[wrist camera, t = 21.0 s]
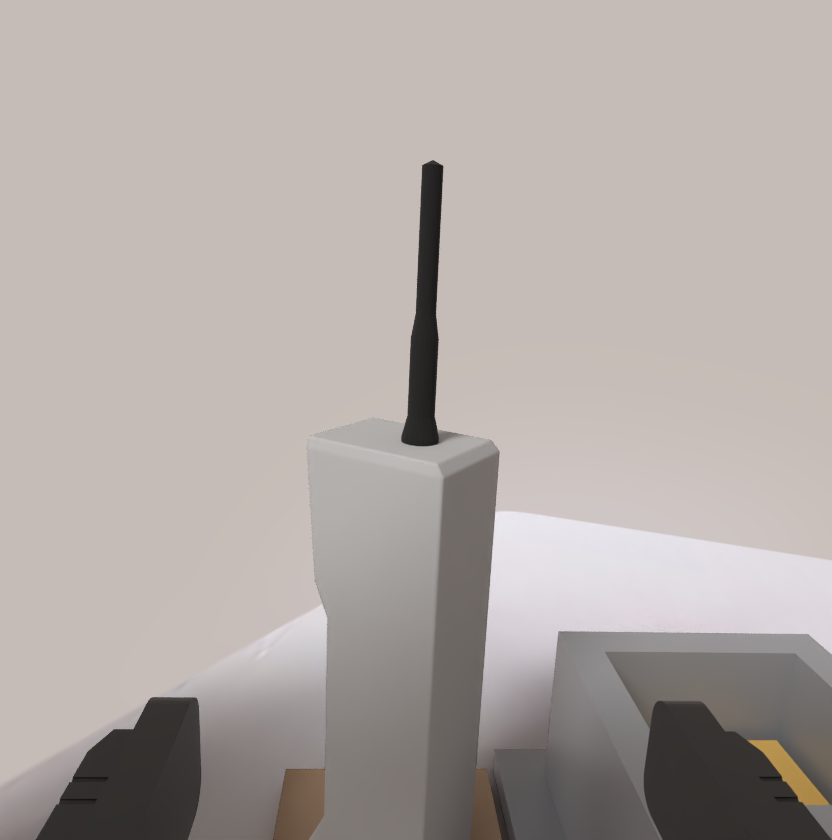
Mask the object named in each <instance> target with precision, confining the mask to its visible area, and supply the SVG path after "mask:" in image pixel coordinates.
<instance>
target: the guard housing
mask: <svg viewBox="0 0 832 840" xmlns="http://www.w3.org/2000/svg"><path fill="white" fill-rule="evenodd" d="M657 701H701V702H703V703H704V704H705V705H706V706H707V708H708V709H709V710H710V712H711V713H712V714H713V716H714V717H715V718H716V720H717V721H718V722H719V724H720V725H721V726H722V728H723V729H724V730H725V731H735V732H737V733H738V734H739V735H741V736H742V737H743V738H745V739H746V740H777V741H778V743H779V744H780V745H781V746H782V747H783V749H784V750H785V751H786V752H787V753H788V755H789V756H790V757H791V758H792V759H793V761H794V762H795V763H796V764H797V766H798V767H799V768H800V769H801V770H802V772H803V773H804V774H805V775H806V776H807V778H808V779H809V780H810V781H811V782H812V784H813V785H814V786H815V787H816V788H817V790H818V791H819V792H820V793H821V794H822V796H823V797H824V798H825V799H826V800H827V802H828V803H829V804H830V805H805V806H806V808H807V809H808V810H809V811H810V813H811V814H812V815H813V816H814V818H815V819H816V820H817V822H818V823H819V824H820V825H821V827H822V828H823V829H824V830H825V832H826V833H827V834H828V836H829V837H830V838H831V839H832V655H831V654H830V653H829V652H828V651H827V650H826V649H824V648H823V647H822V646H821V645H820V644H819V643H818V642H816V641H815V640H814V639H813V638H812V637H811V636H809V635H808V634H736V633H648V632H561V631H559V632H558V642H557V652H556V662H555V671H554V681H553V691H552V701H551V711H550V721H549V731H548V741H547V750H494V760H493V771H494V775H495V780H496V784H497V789H498V793H499V797H500V802H501V806H502V811H503V815H504V819H505V824H506V828H507V833H508V837H509V840H662V838H661V836H660V834H659V832H658V829H657V827H656V825H655V823H654V821H653V819H652V817H651V815H650V813H649V810H648V807H647V803H646V799H645V793H644V768H645V761H646V754H647V747H648V740H649V732H650V725H651V718H652V712H653V708H654V705H655V703H656V702H657Z"/></svg>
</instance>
